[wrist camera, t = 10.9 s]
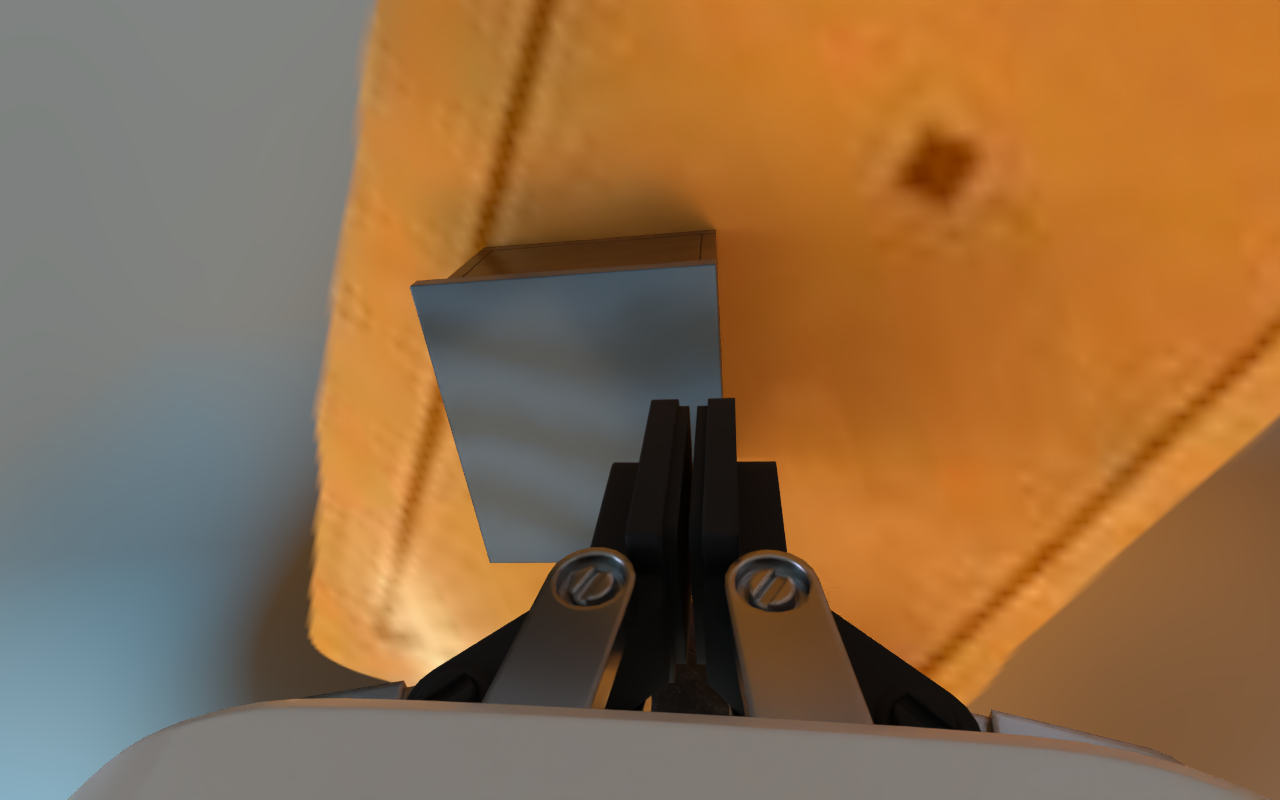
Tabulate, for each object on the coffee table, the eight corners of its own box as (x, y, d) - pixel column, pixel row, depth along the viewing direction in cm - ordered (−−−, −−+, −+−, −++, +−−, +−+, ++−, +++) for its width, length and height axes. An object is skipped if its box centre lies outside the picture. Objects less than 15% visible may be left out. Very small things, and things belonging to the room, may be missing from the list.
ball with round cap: (622, 563, 48) (588, 756, 34) (774, 625, 49) (797, 832, 36) (562, 663, 54) (514, 857, 41) (699, 715, 55) (695, 918, 42)
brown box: (483, 247, 37) (422, 298, 29) (715, 229, 35) (716, 278, 27) (532, 466, 44) (494, 553, 36) (726, 461, 42) (729, 551, 34)
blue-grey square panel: (416, 280, 28) (408, 285, 28) (715, 258, 26) (716, 264, 26) (493, 553, 36) (489, 563, 36) (729, 551, 34) (729, 562, 34)
